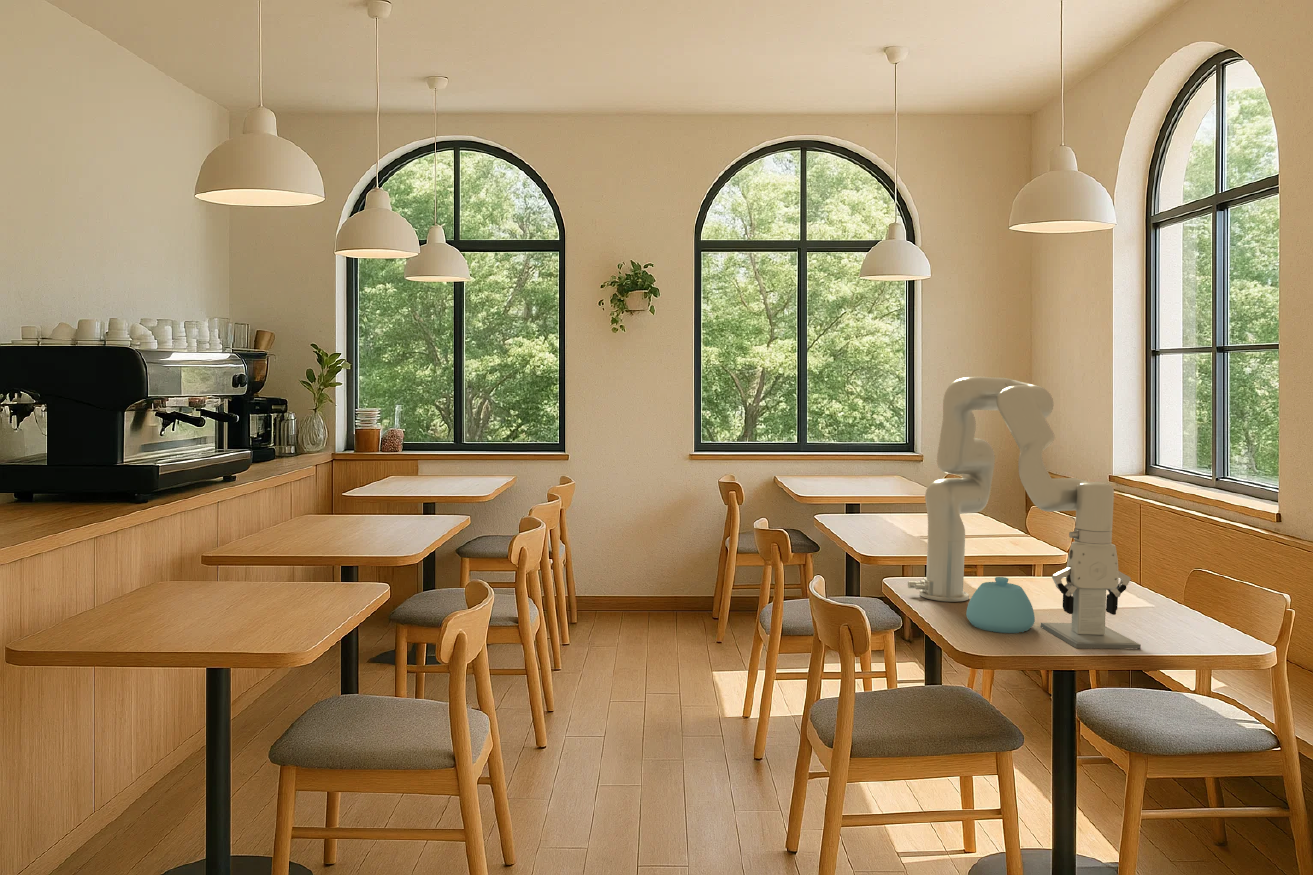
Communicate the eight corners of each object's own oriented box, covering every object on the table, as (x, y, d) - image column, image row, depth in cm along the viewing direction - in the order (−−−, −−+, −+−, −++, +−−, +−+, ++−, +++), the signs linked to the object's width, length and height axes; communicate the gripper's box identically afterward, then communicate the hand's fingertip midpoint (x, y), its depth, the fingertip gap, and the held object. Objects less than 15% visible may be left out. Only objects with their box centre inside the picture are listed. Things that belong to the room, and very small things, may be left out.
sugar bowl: (952, 621, 224) (954, 573, 223) (1002, 616, 230) (1004, 569, 229) (996, 637, 210) (999, 586, 209) (1048, 632, 216) (1050, 582, 215)
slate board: (1076, 648, 202) (1076, 643, 202) (1040, 626, 220) (1040, 622, 220) (1140, 649, 202) (1140, 644, 202) (1099, 627, 220) (1099, 623, 220)
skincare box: (1097, 630, 213) (1099, 578, 212) (1105, 635, 209) (1107, 582, 208) (1069, 629, 214) (1072, 577, 213) (1077, 634, 209) (1079, 581, 209)
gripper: (1062, 539, 206) (1058, 616, 207) (1140, 540, 206) (1136, 617, 207) (1047, 534, 213) (1044, 608, 214) (1122, 535, 214) (1119, 609, 215)
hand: (1089, 612), depth 211 cm, fingers open, 9 cm apart
